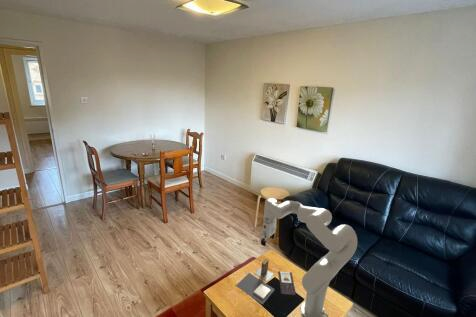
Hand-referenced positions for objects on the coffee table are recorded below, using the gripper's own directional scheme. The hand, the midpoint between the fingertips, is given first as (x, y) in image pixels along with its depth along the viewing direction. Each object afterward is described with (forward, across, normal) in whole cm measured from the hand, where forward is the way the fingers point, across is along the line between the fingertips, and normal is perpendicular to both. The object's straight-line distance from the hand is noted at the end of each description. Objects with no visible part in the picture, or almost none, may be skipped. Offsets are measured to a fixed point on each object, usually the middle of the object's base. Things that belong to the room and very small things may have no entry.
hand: (267, 241), depth 152 cm
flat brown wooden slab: (+26, 0, 0) cm, 26 cm away
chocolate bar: (+27, +4, -15) cm, 31 cm away
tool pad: (+26, 0, 0) cm, 26 cm away
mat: (+26, -13, -2) cm, 29 cm away
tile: (+25, -13, -4) cm, 29 cm away
